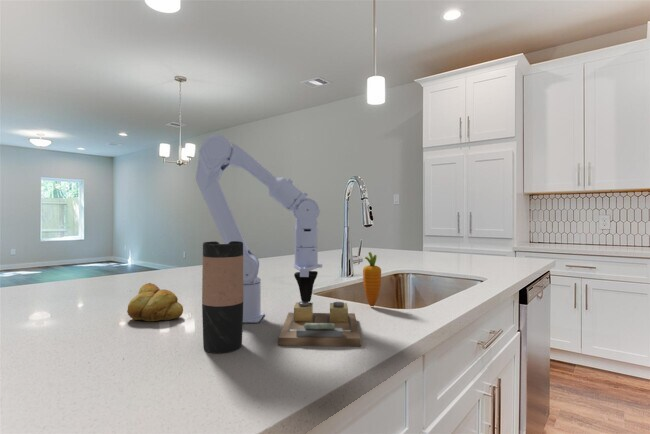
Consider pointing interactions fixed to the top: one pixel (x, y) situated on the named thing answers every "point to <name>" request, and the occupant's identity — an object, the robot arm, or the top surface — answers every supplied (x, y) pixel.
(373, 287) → the carrot
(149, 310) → the bread roll
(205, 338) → the travel mug
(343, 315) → the slide
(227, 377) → the top surface
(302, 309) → the slide
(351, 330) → the base
